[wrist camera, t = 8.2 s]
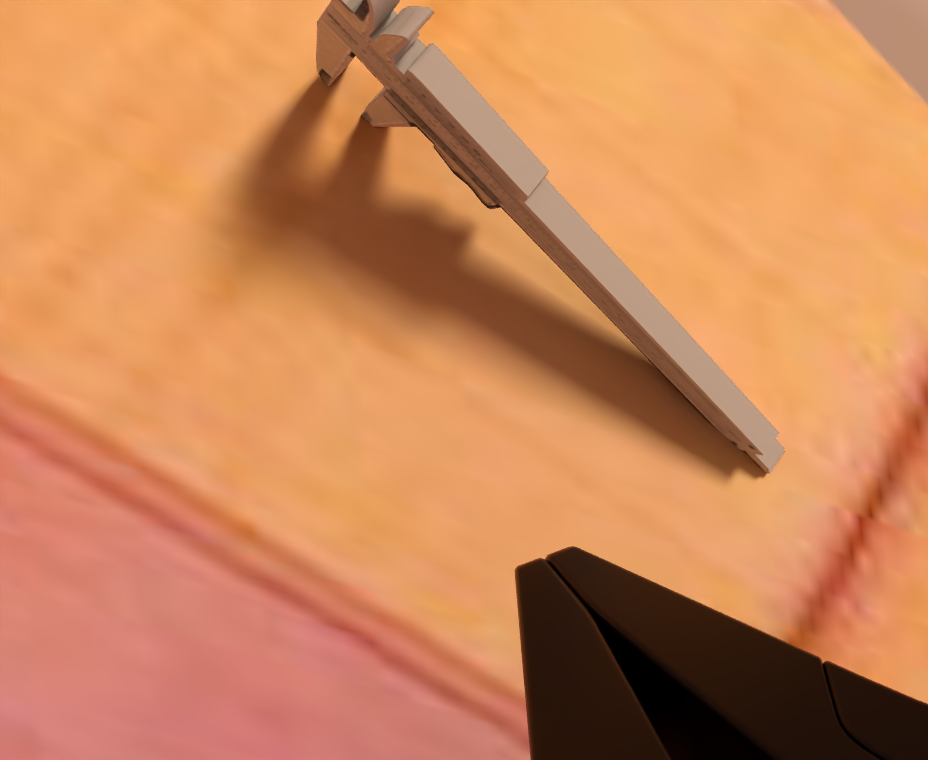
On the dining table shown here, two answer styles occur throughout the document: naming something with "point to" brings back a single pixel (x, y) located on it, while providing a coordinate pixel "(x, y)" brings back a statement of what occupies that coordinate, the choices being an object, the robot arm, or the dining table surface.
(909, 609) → the dining table surface
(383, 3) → the caliper
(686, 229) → the dining table surface
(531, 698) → the robot arm
